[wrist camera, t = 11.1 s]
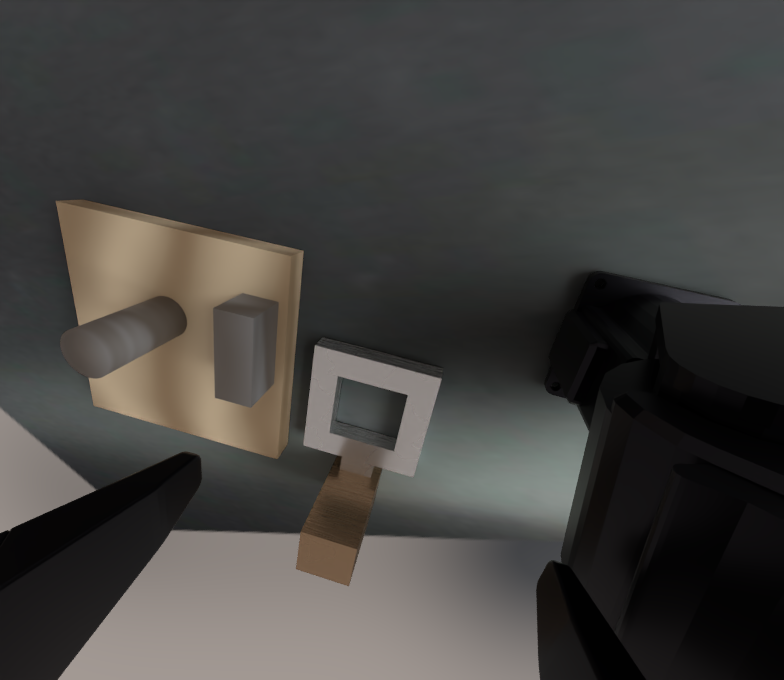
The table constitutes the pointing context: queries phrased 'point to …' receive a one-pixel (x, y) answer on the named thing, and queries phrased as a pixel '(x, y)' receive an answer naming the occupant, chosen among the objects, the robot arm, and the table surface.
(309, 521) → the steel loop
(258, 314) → the maple peg board
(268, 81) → the table surface
